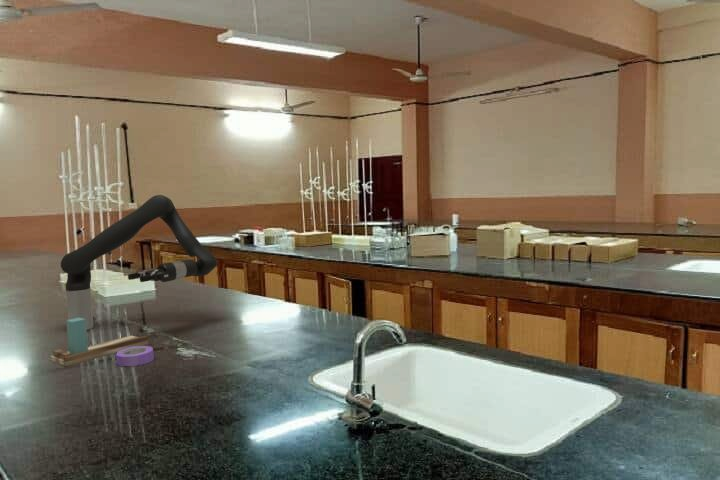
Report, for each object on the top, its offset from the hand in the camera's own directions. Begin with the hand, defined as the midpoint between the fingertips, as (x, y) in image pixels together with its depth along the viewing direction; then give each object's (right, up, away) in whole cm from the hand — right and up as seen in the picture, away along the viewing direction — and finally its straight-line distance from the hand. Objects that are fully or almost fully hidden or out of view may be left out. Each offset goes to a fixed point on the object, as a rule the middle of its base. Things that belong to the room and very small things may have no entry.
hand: (134, 278), depth 205 cm
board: (-8, -26, -10) cm, 29 cm away
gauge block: (-13, -25, -16) cm, 32 cm away
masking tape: (+9, -27, -21) cm, 36 cm away
